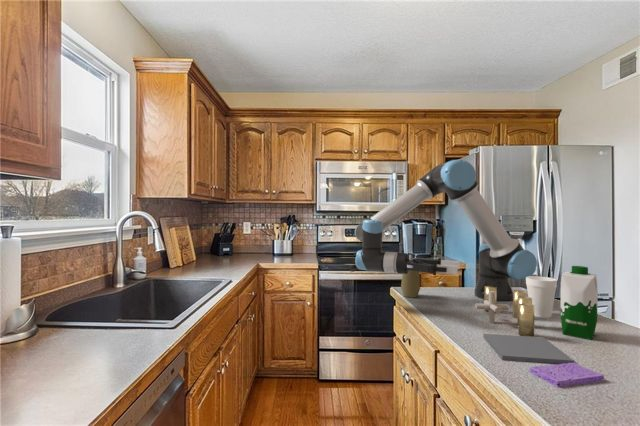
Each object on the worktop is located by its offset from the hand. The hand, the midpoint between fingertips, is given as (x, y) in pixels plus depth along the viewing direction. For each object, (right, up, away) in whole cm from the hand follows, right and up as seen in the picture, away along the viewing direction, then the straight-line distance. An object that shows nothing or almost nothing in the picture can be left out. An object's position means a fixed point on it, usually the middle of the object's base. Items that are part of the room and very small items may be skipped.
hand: (458, 267), depth 120 cm
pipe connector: (+9, -18, -4) cm, 20 cm away
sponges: (+7, -18, -43) cm, 47 cm away
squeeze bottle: (-9, -17, +31) cm, 37 cm away
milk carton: (+30, -18, -16) cm, 38 cm away
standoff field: (+16, -17, -5) cm, 24 cm away
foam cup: (+31, -18, +4) cm, 36 cm away
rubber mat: (+6, -17, -28) cm, 33 cm away
